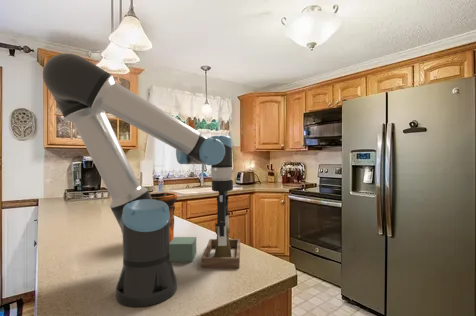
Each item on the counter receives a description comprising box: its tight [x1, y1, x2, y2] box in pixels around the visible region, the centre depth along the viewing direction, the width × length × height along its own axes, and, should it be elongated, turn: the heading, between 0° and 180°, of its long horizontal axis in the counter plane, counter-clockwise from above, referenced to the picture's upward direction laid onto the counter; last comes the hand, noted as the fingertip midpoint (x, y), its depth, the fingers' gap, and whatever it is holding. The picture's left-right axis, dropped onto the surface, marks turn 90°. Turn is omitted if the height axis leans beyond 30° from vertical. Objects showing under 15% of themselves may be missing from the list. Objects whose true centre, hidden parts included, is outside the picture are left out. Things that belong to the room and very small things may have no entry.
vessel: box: [150, 191, 178, 242], centre depth 113 cm, size 14×14×20 cm
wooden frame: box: [201, 238, 241, 269], centre depth 95 cm, size 20×12×3 cm, turn 179°
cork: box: [214, 225, 232, 257], centre depth 95 cm, size 6×6×11 cm
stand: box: [170, 236, 197, 263], centre depth 95 cm, size 8×8×6 cm
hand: (223, 239), depth 96 cm, fingers open, 13 cm apart
